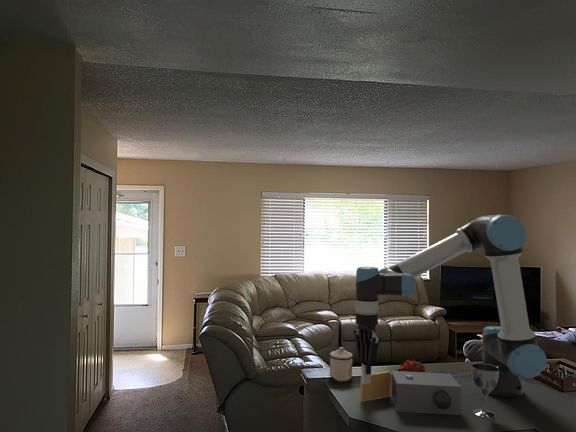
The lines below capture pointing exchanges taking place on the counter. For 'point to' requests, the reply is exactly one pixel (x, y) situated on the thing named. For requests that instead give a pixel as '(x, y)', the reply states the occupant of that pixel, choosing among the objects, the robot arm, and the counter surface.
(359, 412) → the counter surface
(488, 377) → the wine glass
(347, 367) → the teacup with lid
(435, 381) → the camera case
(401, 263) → the robot arm
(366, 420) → the counter surface
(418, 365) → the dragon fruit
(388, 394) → the door
